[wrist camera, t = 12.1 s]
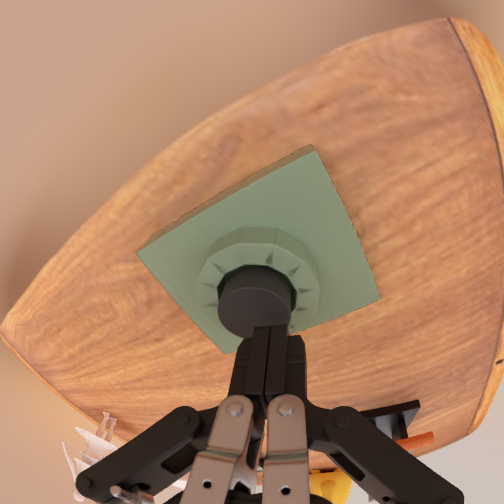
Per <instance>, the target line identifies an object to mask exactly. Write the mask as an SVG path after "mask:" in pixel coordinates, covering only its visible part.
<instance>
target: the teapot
mask: <svg viewBox="0 0 504 504" xmlns="http://www.w3.org/2000/svg"><path fill="white" fill-rule="evenodd" d="M311 473H312V474H311V475H310V493H311V494H315V495H319V496H321V497H323V498H325V499H327V500H329V501H330V502H332V503H333V504H344V503H345V501H346V499H347V497H348V494H349V492H350V487H351V478H350V477H349V476H348V475H347V474H346V473H344V472H342V470H341V469H340V468H336V469H334V472H330V473H321V472H320V470H312V471H311Z"/></svg>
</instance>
